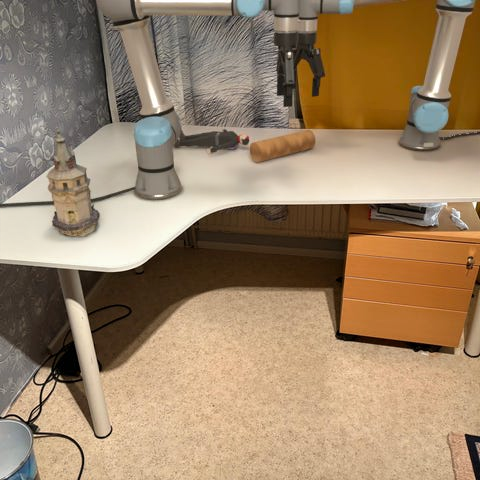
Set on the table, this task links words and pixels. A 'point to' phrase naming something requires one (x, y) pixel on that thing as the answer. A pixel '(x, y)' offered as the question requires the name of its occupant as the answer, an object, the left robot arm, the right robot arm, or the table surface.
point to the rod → (282, 145)
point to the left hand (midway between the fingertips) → (284, 100)
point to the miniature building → (70, 193)
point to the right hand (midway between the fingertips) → (303, 92)
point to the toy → (213, 140)
